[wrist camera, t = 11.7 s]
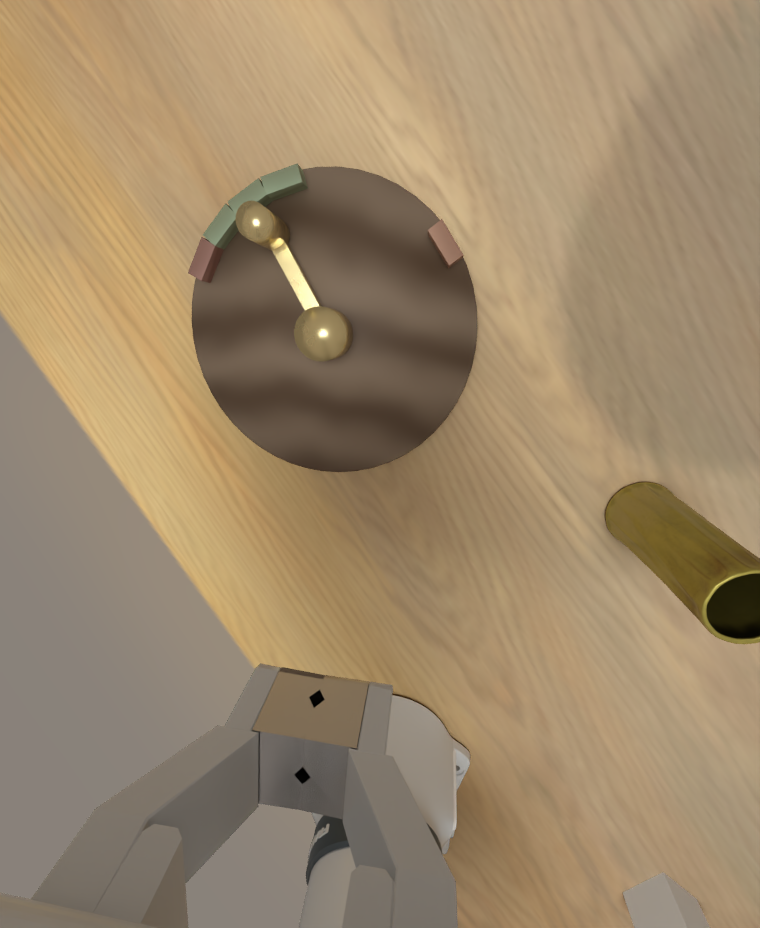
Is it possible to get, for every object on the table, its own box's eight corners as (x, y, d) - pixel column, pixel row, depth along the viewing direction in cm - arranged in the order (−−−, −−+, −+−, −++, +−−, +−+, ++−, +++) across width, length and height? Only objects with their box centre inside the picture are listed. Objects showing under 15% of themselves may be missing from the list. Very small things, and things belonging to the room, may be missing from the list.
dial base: (453, 479, 40) (455, 493, 37) (207, 450, 42) (188, 460, 39) (497, 185, 33) (504, 169, 30) (198, 166, 35) (173, 149, 32)
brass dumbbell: (361, 344, 35) (352, 346, 31) (320, 367, 36) (306, 372, 32) (284, 198, 33) (262, 178, 29) (242, 227, 34) (215, 212, 30)
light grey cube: (696, 898, 52) (729, 967, 46) (654, 917, 54) (681, 987, 48) (662, 871, 51) (691, 938, 46) (621, 891, 53) (644, 959, 47)
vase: (590, 506, 39) (674, 598, 26) (653, 467, 38) (778, 543, 24) (627, 554, 40) (726, 667, 27) (689, 519, 39) (829, 619, 25)
